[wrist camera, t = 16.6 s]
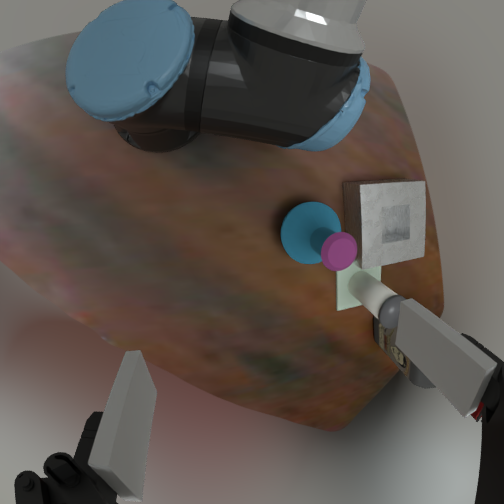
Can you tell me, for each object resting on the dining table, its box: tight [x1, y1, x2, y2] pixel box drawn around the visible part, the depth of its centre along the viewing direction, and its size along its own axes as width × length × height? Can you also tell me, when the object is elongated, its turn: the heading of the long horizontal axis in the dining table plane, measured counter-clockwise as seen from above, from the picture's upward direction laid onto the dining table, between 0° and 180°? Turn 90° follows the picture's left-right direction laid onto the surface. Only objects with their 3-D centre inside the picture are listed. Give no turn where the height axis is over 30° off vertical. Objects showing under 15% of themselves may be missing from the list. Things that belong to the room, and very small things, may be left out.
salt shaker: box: [348, 271, 406, 329], centre depth 44 cm, size 5×5×12 cm
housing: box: [343, 179, 426, 270], centre depth 44 cm, size 13×13×6 cm
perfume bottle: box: [281, 202, 357, 271], centre depth 39 cm, size 9×9×15 cm
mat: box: [336, 263, 381, 311], centre depth 50 cm, size 9×9×1 cm
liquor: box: [374, 317, 484, 420], centre depth 40 cm, size 9×9×30 cm
